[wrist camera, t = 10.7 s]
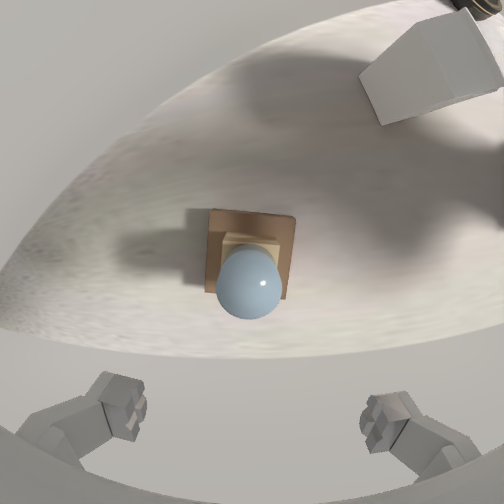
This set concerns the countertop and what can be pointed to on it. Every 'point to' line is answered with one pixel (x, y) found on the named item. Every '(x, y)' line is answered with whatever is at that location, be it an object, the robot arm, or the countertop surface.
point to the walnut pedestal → (250, 224)
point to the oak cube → (239, 238)
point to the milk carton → (432, 68)
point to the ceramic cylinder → (249, 282)
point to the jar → (479, 7)
